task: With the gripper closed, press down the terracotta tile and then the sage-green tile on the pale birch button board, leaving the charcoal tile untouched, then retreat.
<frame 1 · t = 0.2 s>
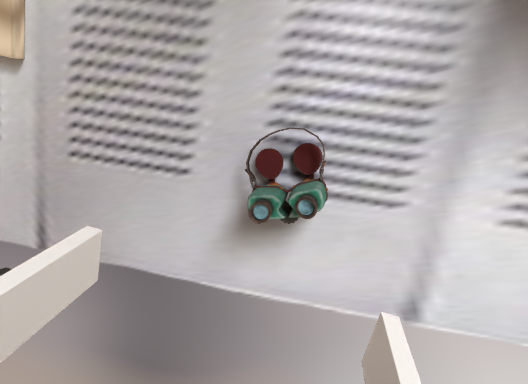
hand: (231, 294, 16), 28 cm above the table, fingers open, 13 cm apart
binoculars: (288, 166, 43), on the table
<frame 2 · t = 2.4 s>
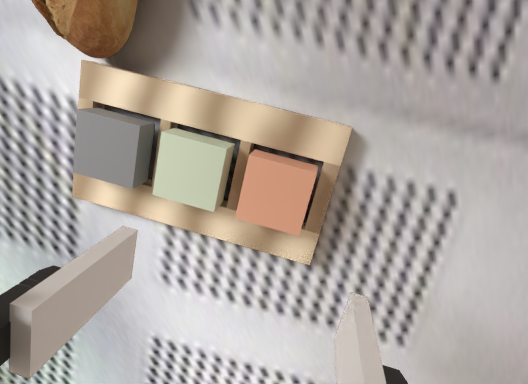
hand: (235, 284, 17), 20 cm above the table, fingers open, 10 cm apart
terracotta tile: (276, 191, 32), point 3 cm above the table, slide at 0.0 cm
sage tile: (193, 169, 33), point 3 cm above the table, slide at 0.0 cm
board: (205, 161, 36), on the table
charcoal tile: (114, 147, 34), point 4 cm above the table, slide at 0.0 cm
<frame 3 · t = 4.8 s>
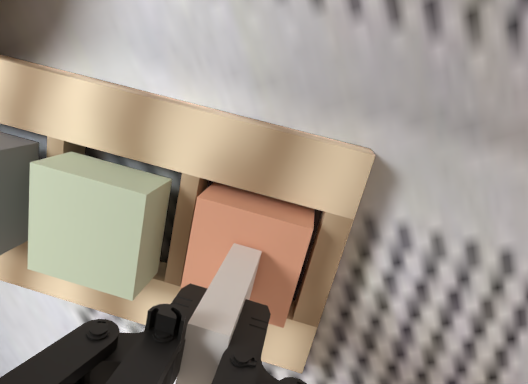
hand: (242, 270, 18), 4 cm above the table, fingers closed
terracotta tile: (247, 252, 20), point 2 cm above the table, slide at 1.4 cm, touching gripper
sage tile: (100, 223, 19), point 4 cm above the table, slide at 0.0 cm
board: (133, 203, 23), on the table
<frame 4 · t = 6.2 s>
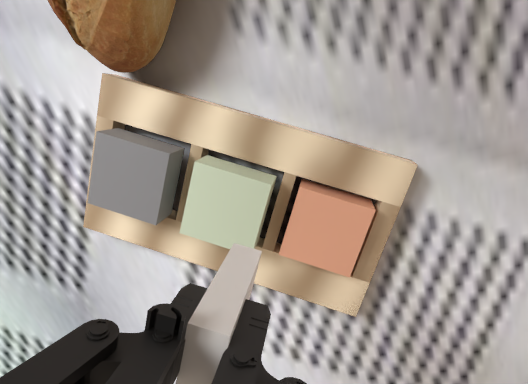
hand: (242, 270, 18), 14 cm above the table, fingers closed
terracotta tile: (325, 226, 29), point 2 cm above the table, slide at 1.7 cm
sage tile: (228, 204, 28), point 3 cm above the table, slide at 0.0 cm
board: (238, 192, 32), on the table
charcoal tile: (136, 175, 29), point 3 cm above the table, slide at 0.0 cm
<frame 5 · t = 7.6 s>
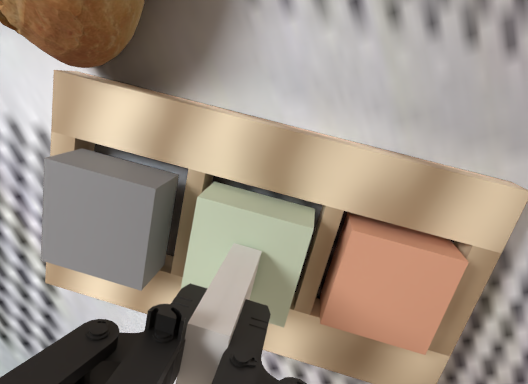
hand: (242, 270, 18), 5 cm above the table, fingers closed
terracotta tile: (385, 280, 20), point 2 cm above the table, slide at 1.7 cm
sage tile: (248, 251, 20), point 3 cm above the table, slide at 0.5 cm, touching gripper
board: (257, 231, 23), on the table
charcoal tile: (110, 216, 20), point 4 cm above the table, slide at 0.0 cm
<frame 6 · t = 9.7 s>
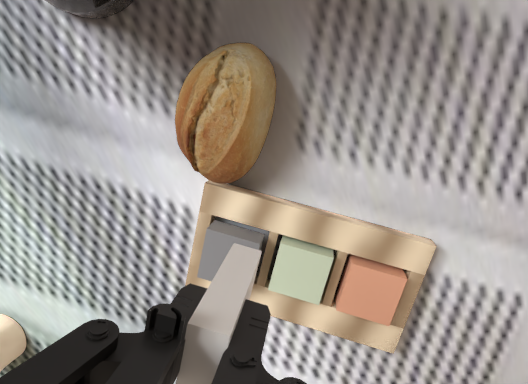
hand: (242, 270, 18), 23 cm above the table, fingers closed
bread roll: (234, 114, 40), on the table
terracotta tile: (369, 288, 40), point 2 cm above the table, slide at 1.7 cm
sage tile: (300, 268, 41), point 2 cm above the table, slide at 1.7 cm
board: (301, 262, 43), on the table
water bottle: (3, 338, 54), on the table
charcoal tile: (231, 255, 40), point 3 cm above the table, slide at 0.0 cm
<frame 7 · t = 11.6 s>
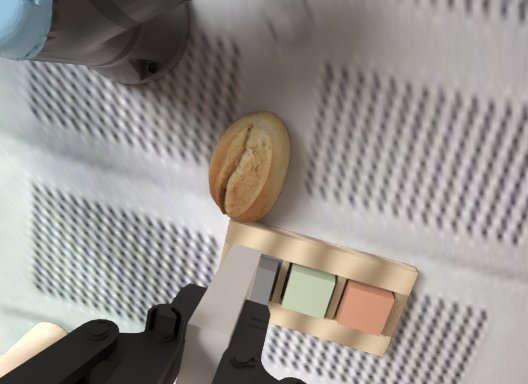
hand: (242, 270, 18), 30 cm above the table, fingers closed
bread roll: (253, 164, 49), on the table
terracotta tile: (363, 305, 49), point 2 cm above the table, slide at 1.7 cm
sage tile: (308, 289, 50), point 2 cm above the table, slide at 1.7 cm
board: (308, 282, 52), on the table
water bottle: (51, 342, 63), on the table
charcoal tile: (251, 279, 49), point 3 cm above the table, slide at 0.0 cm
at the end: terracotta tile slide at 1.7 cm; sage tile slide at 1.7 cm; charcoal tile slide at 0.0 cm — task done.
